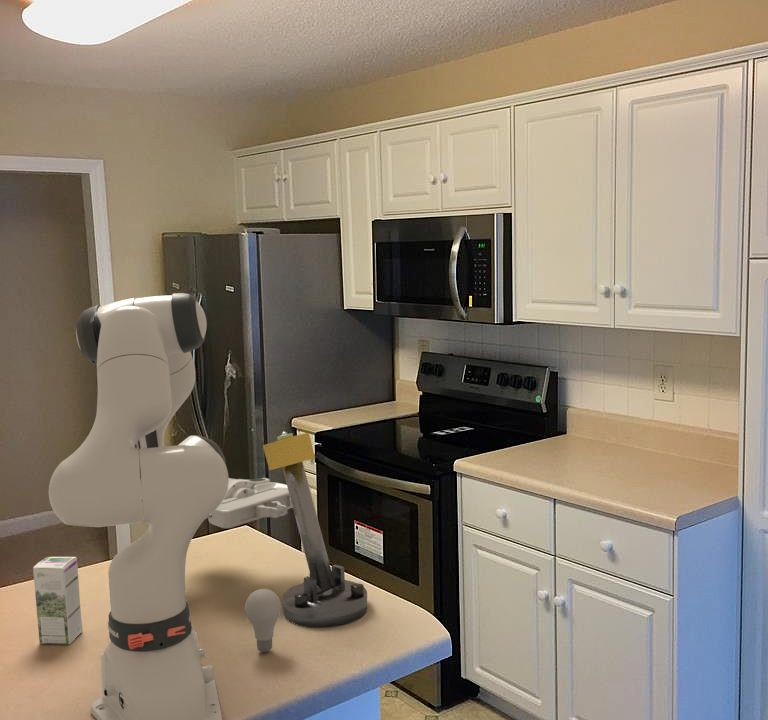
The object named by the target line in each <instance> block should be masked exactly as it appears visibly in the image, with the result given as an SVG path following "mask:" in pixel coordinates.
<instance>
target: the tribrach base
mask: <svg viewBox="0 0 768 720" xmlns="http://www.w3.org/2000/svg"><path fill="white" fill-rule="evenodd" d="M331 571H332V575H333V579H334V578H336V579H337V580H338V582H339V584H338V586H337V587H334V588H332V589H330V590H328V591H326V592H323V593H321V594H319V595H317V579H315V578H311V575H310V574H309V576H305V577H303V582H300V583H298V584H295V585H293V586H291V587H290V588H288V589H287V590H286V591H285V592H284V593H283V595H282V611H283V613H282V614H283V617H284V616H285V617H284V618H285V620H287V621H288V620H289V621H288V622H290V623H291V622H293V623H292V624H294V623H295V624H294V625H296V624H298V625H297V626H300V625H301V626H300V627H304V626H305V627H306V628H313V629H314V628H315V629H318V628H319V629H325V628H327V629H328V628H335V627H341V626H345V625H348V624H351V623H355V622H357V621H358V620H360V619H361V618H363V617H365V615H366V614H367V612H368V591H367V589H366V588H365V586H364V584H363V583H358V582H355V581H351V580H346V579H345V578H346V577H345V566H342V565H339V564H334V565H331Z"/></svg>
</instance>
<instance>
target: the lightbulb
mask: <svg viewBox="0 0 768 720" xmlns="http://www.w3.org/2000/svg"><path fill="white" fill-rule="evenodd" d="M281 611H282V603H281V600H280V597H279V596H278V595H277V594H276V593H275V592H274V590H273V591H272V590H271V589H268V588H260V589H256V590H254V591H253V592H251V593H250V595H248V597H247V598H246V600H245V603H244V613H245V616H246V618H247V620H248V622H250V624H251V626H252V628H253V632H254V638H255V639H256V648H257V650H258V651H259V652H261V653H263V654H265V653H268V652H269V651H271V650H272V649H273V638H274V633H275V632H274V631H275V626H276V623H277V621H278V618H279V617H280V614H281Z"/></svg>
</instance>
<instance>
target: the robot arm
mask: <svg viewBox="0 0 768 720" xmlns="http://www.w3.org/2000/svg"><path fill="white" fill-rule="evenodd" d="M207 323H208V321H207V316H206V314H205V311H204V309H203V307H202V306H201V304H200V303H199V301H198V299H197V298H196V297H194V296H193V295H192V294H191V293H184V292H183V293H182V292H176V293H175V292H173V293H172V294H171V295H170V294H169V295H167V294H166V295H155V296H153V295H152V296H142V297H132V298H125V299H121V300H117V301H113V302H110V303H107V304H103V305H101V304H96V305H95V306H94V305H93V306H92V307H88V308H87V309H85V310H83V311H82V312H81V314H79V316H78V318H77V320H76V330H75V335H76V342H77V345H78V347H79V349H80V350H79V351H80V352H81V353H82V356H83V357H84V359H85V360H87V361H88V362H90V363H92V365H93V364H94V365H96V375H97V376H96V378H97V403H96V404H97V405H96V412H95V419H94V421H93V425H92V428H91V429H90V432H89V433H88V435H87V436H86V438H85V440H83V442H82V443H81V445H80V446H79V447H78V448H77V449H76V450H75V451H73V453H71V454H70V455H69V456H68V457H67V458H65V459H63V460H62V461H61V462H60V463H59V464H58V465H57V466H56V468H55V469H54V471H53V473H52V475H51V477H50V480H49V484H48V499H49V504H50V506H51V509H52V510H53V511H52V512H53V513H54V514H55V516H56V517H57V519H59V520H60V521H61V522H62V523H63V524H65V525H67V526H76V527H90V528H93V527H94V528H102V527H111V526H121V525H131V524H138V523H144V524H148V525H149V526H148V528H147V529H146V531H145V533H143V534H142V536H141V537H140V538H138V539H136V540H135V541H133V542H131V543H129V544H128V545H127V546H125V547H123V548H122V549H121V550H119V551H118V552H117V553H116V554H115V556H114V557H113V558H112V560H111V562H110V564H109V566H108V573H107V574H108V588H109V600H110V602H109V603H110V612H109V613H108V621H107V628H108V633H109V639H110V642H109V644H108V645H107V647H106V648H105V650H104V651H103V652H102V653H101V654H100V680H101V681H100V685H101V687H100V688H101V689H100V690H101V697H99V698H97V699H96V700H95V701H93V702H92V703H91V705H90V714H91V715H92V716H93V717H94V719H96V720H223V715H222V710H221V705H220V699H219V695H218V694H219V693H218V691H217V690H218V689H217V685H216V680H215V673H214V666H213V664H208V665H207V664H206V665H202V662H201V659H202V658H205V657H206V655H207V654H206V648H205V647H202V648H201V647H200V648H199V635H198V632H196V631H194V630H193V627H192V615H191V610H190V608H189V607H190V606H189V603H188V601H187V600H186V599H187V598H186V562H187V561H186V560H187V556H188V555H187V554H188V551H189V547H190V544H191V542H192V539H193V537H194V535H195V533H196V532H197V530H198V529H199V528H200V526H201V525H202V523H203V522H204V521H205V520H206V519H207V520H208V522H209V524H211V525H213V526H215V527H216V526H217V527H219V528H222V529H232V528H235V527H237V526H241V525H244V524H246V523H250V522H253V521H256V520H259V519H262V518H273V519H277V518H280V517H282V516H286V515H288V510H289V509H293V506H292V502H291V499H290V495H289V491H288V487H287V483H286V484H285V483H280V482H273V481H271V479H269V478H267V477H262V478H252V479H251V478H250V479H243V478H237V479H236V478H230V477H229V470H228V467H227V464H226V458H225V455H224V453H223V450H222V449H221V447H220V446H219V444H217V442H215V441H214V440H212V439H210V438H208V437H205V436H202V435H199V434H193V435H192V434H191V435H189V436H188V437H186V438H185V439H183V441H181V442H180V443H179V444H177V445H169V446H168V445H167V446H165V444H164V443H165V442H164V436H165V432H166V430H167V428H168V426H169V423H170V422H171V420H172V419H173V417H174V415H175V414H176V412H178V410H179V409H180V408H181V407H182V405H183V404H184V403H185V401H186V400H187V399H188V397H189V396H190V395H191V393H192V391H193V390H194V387H195V384H196V368H195V363H194V362H195V361H194V359H193V356H192V353H191V352H192V351H194V350H196V349H198V348H200V347H201V345H202V344H204V342H205V340H206V332H207V325H208V324H207Z"/></svg>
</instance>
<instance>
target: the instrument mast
mask: <svg viewBox="0 0 768 720" xmlns="http://www.w3.org/2000/svg"><path fill="white" fill-rule="evenodd" d="M276 438H277V440H276V441H273V442H269V443H266V444H262V447H263V451H264V455H265V459H266V463H267V467H268V470H269V471H273V470H276V469H280V468H282V472H283V475H284V479H285V483H286V485H287V487H288V491H289V495H290V499H291V502H292V506H293V508H292V510H293V513H294V516H295V517H294V518H295V522H296V524H297V529H298V534H299V536H300V540H301V543H302V546H303V551H304V556H305V560H306V563H307V566H308V570H309V576H310V575H311V578H315V579H317V595H319V594H321V593H323V592H326V591H328V590H330V589H332V588H334V587H337V586H338V584H339V582H338V580H337V579H336V578H334V579H333V575H332V566H331V565H330V561H329V557H328V553H327V549H326V545H325V541H324V538H323V534H322V530H321V527H320V523H319V518H318V515H317V511H316V508H315V503H314V500H313V497H312V493H311V488H310V485H309V482H308V477H307V474H306V471H305V466H304V462H306V461H309V460H312V459H316V455H315V451H314V448H313V444H312V440H311V436H310V433H309V432H305V433H302V434H296V435H293V433H292V432H291V433H288V432H287V431H283V432H281V435H279V436H276Z"/></svg>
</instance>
